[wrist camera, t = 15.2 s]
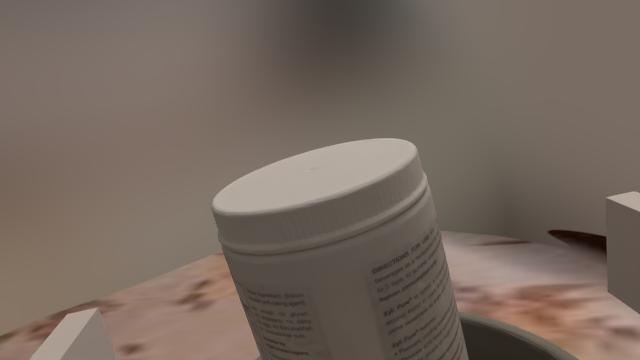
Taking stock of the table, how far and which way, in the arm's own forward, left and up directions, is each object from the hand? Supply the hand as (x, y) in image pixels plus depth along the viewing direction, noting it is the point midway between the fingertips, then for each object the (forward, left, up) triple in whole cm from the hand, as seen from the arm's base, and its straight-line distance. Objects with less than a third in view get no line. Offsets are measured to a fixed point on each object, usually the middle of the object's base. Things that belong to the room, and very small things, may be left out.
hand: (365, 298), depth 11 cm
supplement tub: (+7, +6, -13) cm, 16 cm away
